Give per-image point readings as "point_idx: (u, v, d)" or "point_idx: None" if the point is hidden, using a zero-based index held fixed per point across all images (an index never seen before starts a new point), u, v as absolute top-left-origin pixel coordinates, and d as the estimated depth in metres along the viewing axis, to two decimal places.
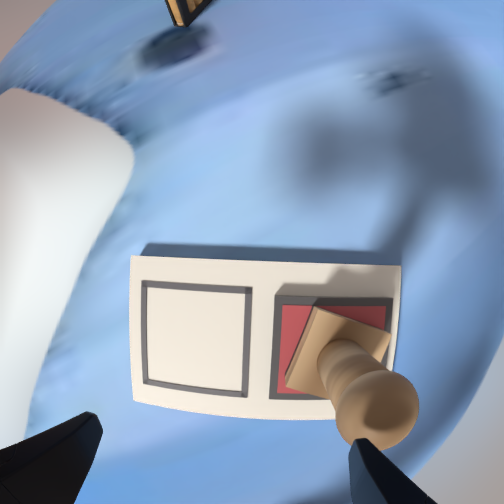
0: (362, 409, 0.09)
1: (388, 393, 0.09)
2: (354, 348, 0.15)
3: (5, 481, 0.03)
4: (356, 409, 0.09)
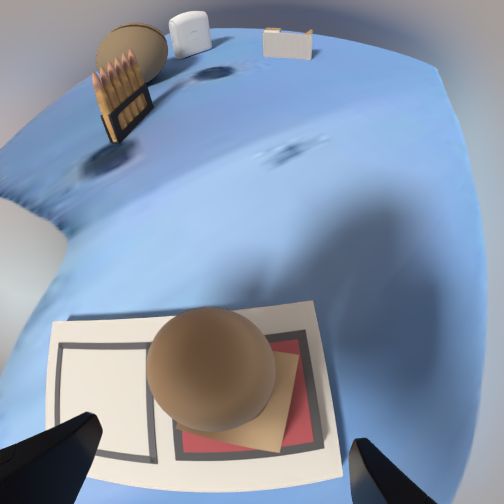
0: (158, 335, 0.07)
1: (192, 312, 0.07)
2: None
3: (5, 481, 0.03)
4: (153, 339, 0.07)
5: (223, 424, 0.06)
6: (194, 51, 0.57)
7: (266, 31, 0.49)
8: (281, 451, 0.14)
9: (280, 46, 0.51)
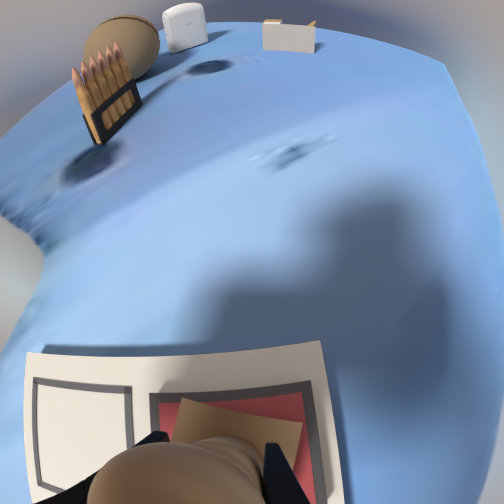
0: (93, 489, 0.03)
1: (136, 469, 0.03)
2: (214, 438, 0.08)
3: None
4: (90, 489, 0.03)
5: None
6: (189, 44, 0.53)
7: (266, 23, 0.44)
8: None
9: (281, 39, 0.47)
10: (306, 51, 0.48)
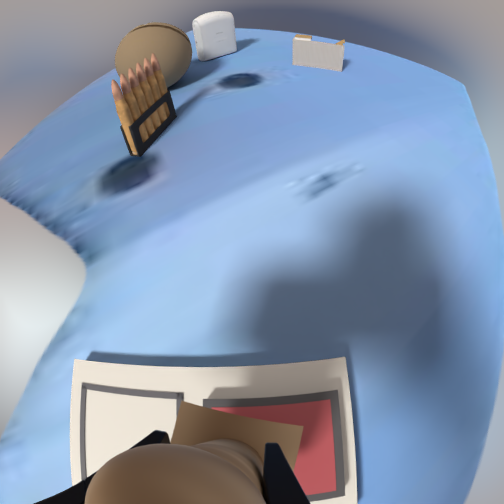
0: (91, 490, 0.03)
1: (135, 470, 0.03)
2: (214, 441, 0.08)
3: None
4: (88, 490, 0.03)
5: None
6: (218, 53, 0.56)
7: (296, 38, 0.47)
8: None
9: (310, 55, 0.49)
10: (334, 69, 0.50)
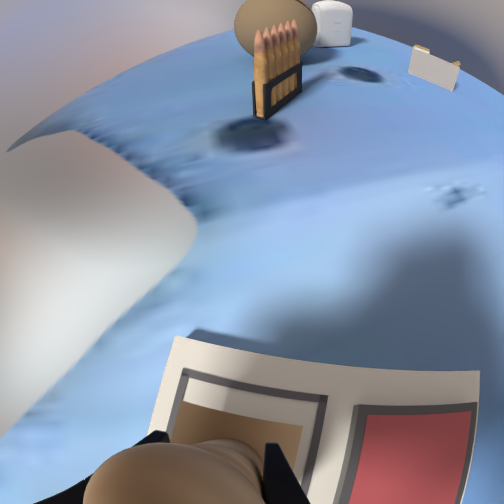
0: (89, 489, 0.03)
1: (133, 468, 0.03)
2: (213, 441, 0.08)
3: None
4: (86, 489, 0.03)
5: None
6: (333, 43, 0.51)
7: (416, 48, 0.39)
8: None
9: (427, 68, 0.42)
10: (446, 87, 0.42)
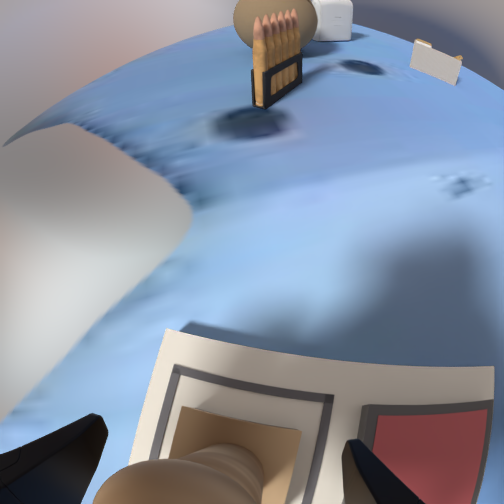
0: None
1: (138, 487, 0.03)
2: (213, 448, 0.08)
3: (11, 485, 0.03)
4: None
5: None
6: (333, 37, 0.50)
7: (418, 42, 0.38)
8: None
9: (428, 62, 0.40)
10: (448, 82, 0.41)
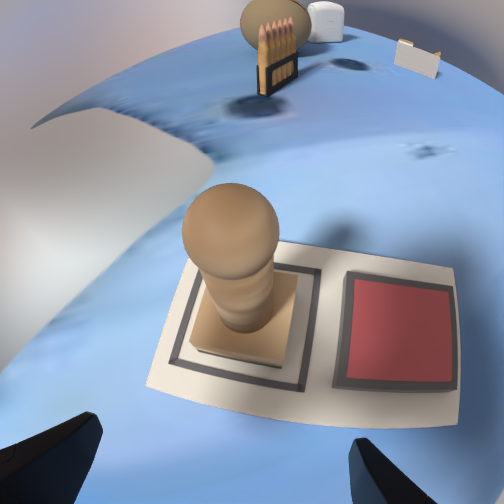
0: None
1: None
2: None
3: (5, 481, 0.03)
4: None
5: (241, 255, 0.09)
6: (326, 39, 0.57)
7: (401, 41, 0.45)
8: (428, 386, 0.14)
9: (410, 59, 0.48)
10: (429, 76, 0.48)
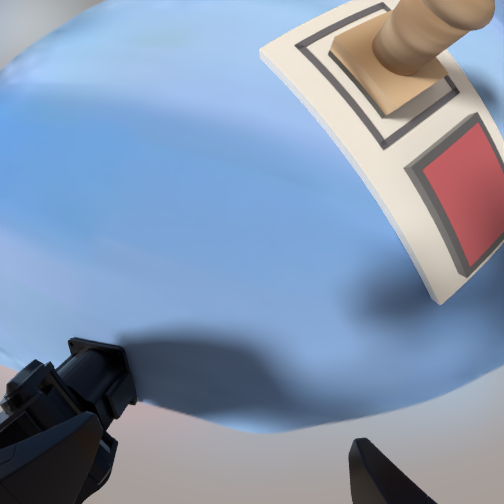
0: None
1: None
2: None
3: (5, 481, 0.03)
4: None
5: (462, 5, 0.05)
6: None
7: None
8: (457, 247, 0.16)
9: None
10: None
